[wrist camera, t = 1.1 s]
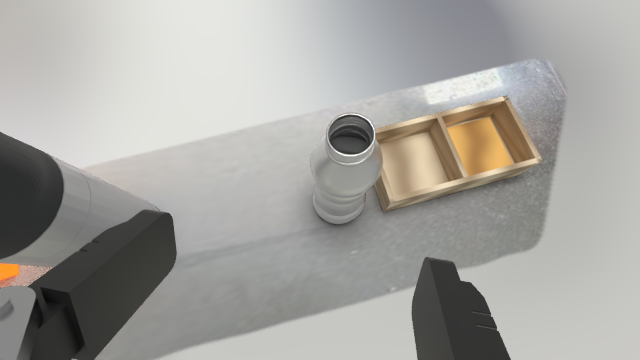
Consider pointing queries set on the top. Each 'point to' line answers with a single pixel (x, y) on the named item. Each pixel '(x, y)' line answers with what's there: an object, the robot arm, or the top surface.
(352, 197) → the plastic bottle
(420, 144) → the tray
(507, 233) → the top surface
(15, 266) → the orange juice
